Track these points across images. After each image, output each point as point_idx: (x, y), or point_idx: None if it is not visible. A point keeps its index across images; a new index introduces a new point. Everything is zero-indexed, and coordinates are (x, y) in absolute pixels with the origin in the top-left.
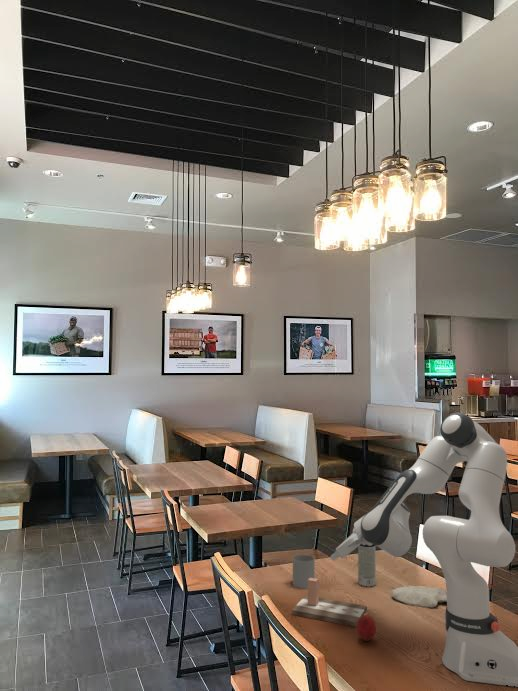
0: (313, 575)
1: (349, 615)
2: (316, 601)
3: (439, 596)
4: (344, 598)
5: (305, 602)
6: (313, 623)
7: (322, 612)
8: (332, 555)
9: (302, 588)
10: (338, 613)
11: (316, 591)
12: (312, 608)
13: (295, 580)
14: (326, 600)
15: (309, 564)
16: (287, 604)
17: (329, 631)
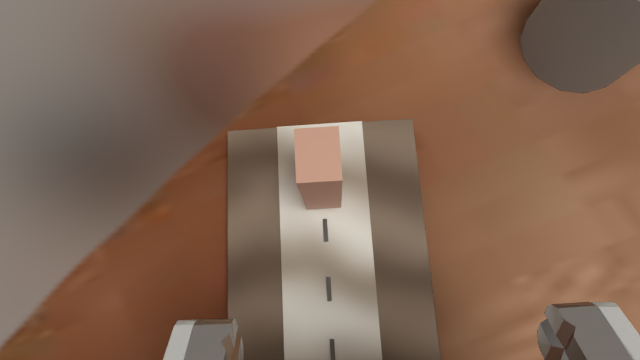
0: (613, 65)
1: None
2: (311, 206)
3: None
4: (530, 277)
5: None
6: (188, 250)
7: (262, 260)
8: (169, 354)
9: (524, 60)
10: (284, 336)
11: (307, 196)
12: (279, 203)
13: (538, 9)
14: (407, 224)
15: (623, 15)
16: (322, 79)
17: (140, 343)
